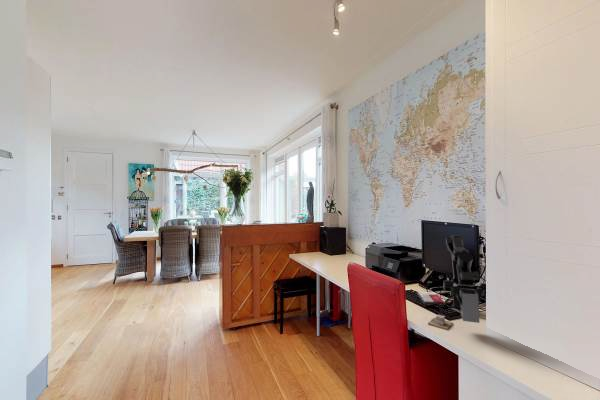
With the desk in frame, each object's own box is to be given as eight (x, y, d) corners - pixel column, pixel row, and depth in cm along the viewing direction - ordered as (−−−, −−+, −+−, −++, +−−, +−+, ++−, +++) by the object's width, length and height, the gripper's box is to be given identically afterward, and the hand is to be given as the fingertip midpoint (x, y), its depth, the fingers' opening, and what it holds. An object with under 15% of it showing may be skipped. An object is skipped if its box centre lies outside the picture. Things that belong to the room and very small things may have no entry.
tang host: (434, 319, 130) (434, 311, 130) (453, 325, 124) (452, 316, 124) (427, 325, 124) (427, 316, 124) (447, 331, 118) (446, 321, 118)
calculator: (424, 301, 145) (416, 290, 160) (424, 308, 145) (416, 297, 160) (445, 301, 143) (436, 291, 158) (445, 309, 143) (436, 298, 158)
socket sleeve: (460, 315, 120) (459, 289, 120) (476, 317, 117) (475, 290, 118) (463, 320, 114) (462, 293, 115) (479, 322, 112) (478, 294, 112)
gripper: (443, 263, 124) (446, 293, 113) (490, 265, 116) (499, 299, 106) (442, 275, 131) (445, 305, 120) (486, 278, 123) (494, 311, 113)
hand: (469, 305), depth 115 cm, fingers closed on socket sleeve, 6 cm apart
